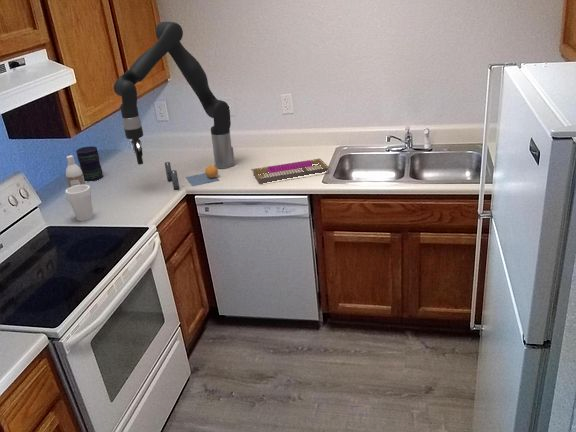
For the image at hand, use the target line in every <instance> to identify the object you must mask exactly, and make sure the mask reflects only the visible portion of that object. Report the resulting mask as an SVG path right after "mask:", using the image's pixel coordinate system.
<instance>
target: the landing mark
mask: <svg viewBox="0 0 576 432" xmlns="http://www.w3.org/2000/svg"><path fill="white" fill-rule="evenodd" d="M185 179H186V180H187V181H188V182H189V184H190V185H191V186H192V187H195V186H199V185H204V184H211V183H213V182H218V181H220V179H219V178H218V177H217V176H216V177H214V178H209V177H208V176H207V175H206V173H205V172H204V173H198V174H195V175H190V176H185Z"/></svg>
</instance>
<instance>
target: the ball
mask: <svg viewBox="0 0 576 432" xmlns="http://www.w3.org/2000/svg"><path fill="white" fill-rule="evenodd" d="M218 169H219V168H216V167H215V165H212V164H211V165H208V166H207V167H206V168H205V170H204V171H205V172H204V173H206V175H207V176H208V177H209V178H214V177H217V176H218V173H219V170H218Z"/></svg>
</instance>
